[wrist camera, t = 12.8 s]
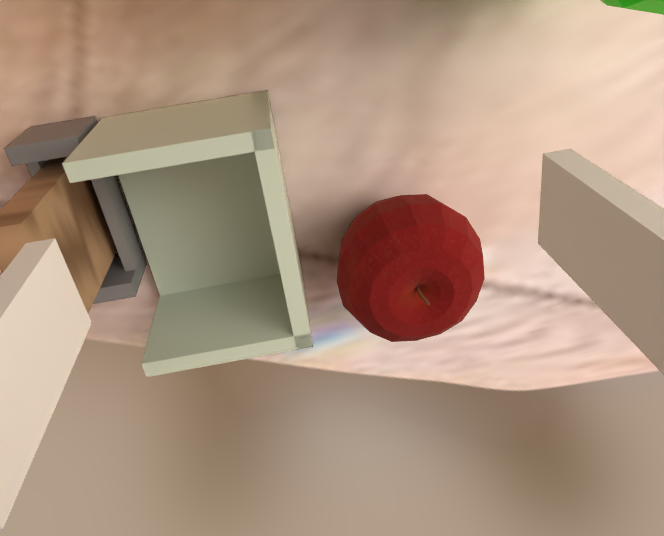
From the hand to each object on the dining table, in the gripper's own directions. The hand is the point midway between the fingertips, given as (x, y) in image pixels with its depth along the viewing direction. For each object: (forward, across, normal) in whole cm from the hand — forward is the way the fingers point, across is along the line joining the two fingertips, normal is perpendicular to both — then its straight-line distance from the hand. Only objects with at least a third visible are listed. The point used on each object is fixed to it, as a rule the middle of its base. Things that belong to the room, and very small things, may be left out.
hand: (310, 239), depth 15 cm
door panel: (+29, -16, -8) cm, 34 cm away
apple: (+29, +7, -15) cm, 33 cm away
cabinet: (+29, -10, -10) cm, 32 cm away
